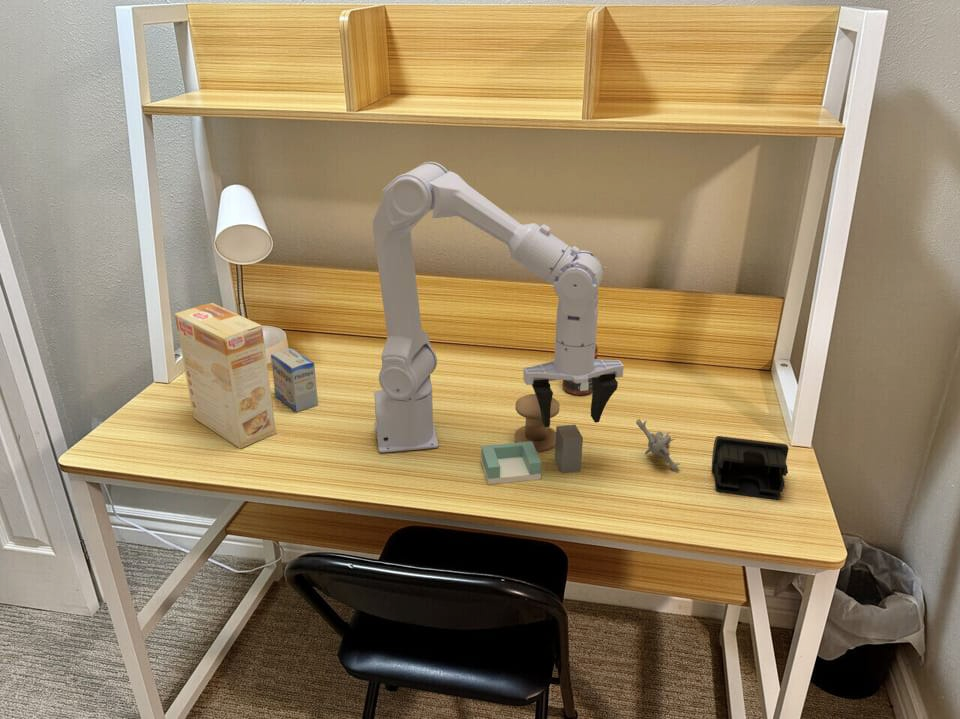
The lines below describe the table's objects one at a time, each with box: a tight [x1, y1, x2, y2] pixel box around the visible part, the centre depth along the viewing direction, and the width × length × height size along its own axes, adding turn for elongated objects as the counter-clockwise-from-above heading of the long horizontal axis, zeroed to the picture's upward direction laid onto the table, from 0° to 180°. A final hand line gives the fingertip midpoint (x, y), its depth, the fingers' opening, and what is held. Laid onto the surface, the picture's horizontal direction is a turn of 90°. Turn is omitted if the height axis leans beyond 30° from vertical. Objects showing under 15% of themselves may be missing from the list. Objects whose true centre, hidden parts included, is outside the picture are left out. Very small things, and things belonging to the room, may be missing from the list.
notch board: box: [480, 441, 543, 485], centre depth 114 cm, size 8×6×3 cm
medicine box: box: [270, 347, 319, 413], centre depth 133 cm, size 8×4×9 cm, turn 42°
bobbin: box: [514, 393, 560, 452], centre depth 122 cm, size 7×7×7 cm
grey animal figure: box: [635, 418, 681, 474], centre depth 118 cm, size 10×6×9 cm
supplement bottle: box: [562, 344, 599, 396], centre depth 137 cm, size 6×6×11 cm
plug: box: [554, 424, 584, 474], centre depth 115 cm, size 3×4×6 cm
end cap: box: [711, 435, 790, 501], centre depth 111 cm, size 10×7×7 cm
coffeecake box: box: [174, 302, 277, 450], centre depth 123 cm, size 15×7×20 cm, turn 48°
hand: (570, 421), depth 113 cm, fingers open, 7 cm apart
